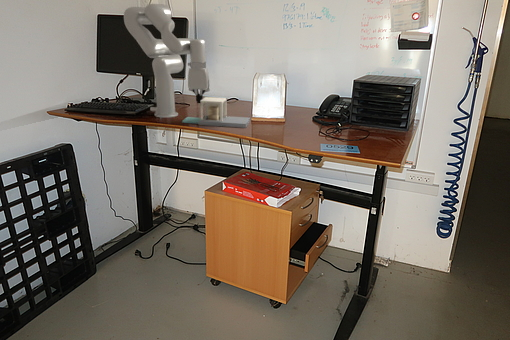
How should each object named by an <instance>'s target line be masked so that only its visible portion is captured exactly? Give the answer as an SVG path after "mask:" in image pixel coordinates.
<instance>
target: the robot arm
mask: <svg viewBox="0 0 510 340" xmlns="http://www.w3.org/2000/svg"><path fill="white" fill-rule="evenodd" d="M123 22H124V25H125V28H126V29H127V31H128V32H129V33H130V35H131V36H132V37H133V39H134V40H136V42H137V43H138V45H139V46H140V48H141V49H142V51H143V52H144V53H145V54H146V56H147V57H149V58H150V59H153V60H152V62H151V65H152V72H153V74H154V80H155V93H156V94H155V95H156V106H155V107H154V106H150V109H149V110H150V111H151V112H154V117H156V118H163V119H165V118H175V117H177V116H179V113H178V112H177V111H176V107H175V106H176V104H175V103H176V102H175V83H174V80H173V77H172V76H171V74H178V73H180V72H182V71H183V69H184V62H183V59H182V57H181V55H189V58H190V59H189V60H190V62H188V63H187V66H188V67H190V68H188V73H187V74H188V75H187V88H188V91H189V92H192V93H193V94H194V96H195V100H196V103H197V104H200V101H201V100H202V99H204V96H203V95H205V93H208V92H210V91H211V90H210V75H209V70H208V68H207V59H206V58H207V55H206V52H207V51H206V41H205V40H204V39H203V38H201V39H200V38H197V39H196V38H195V39H194V38H190V37H189V38H181V37H180V38H177V36H175V35H174V33H173V32H174V30H175V24H176V23H175V22H174V20H173V19H172V11H171V9H170V7H169V6H168V5H165V4H160V3H150V4H148V5H146V6H145V7H143V6H141V7H140V6H130V7H128V8H126V9H125V10H124V12H123ZM144 25H153V27H155V29H156V30H158V31H159V32H160V36H161V39H160V38H155V37H154V35H153V34H152V32H151V31H150V30H149V29H148V28H146V27H145V26H144Z"/></svg>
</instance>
